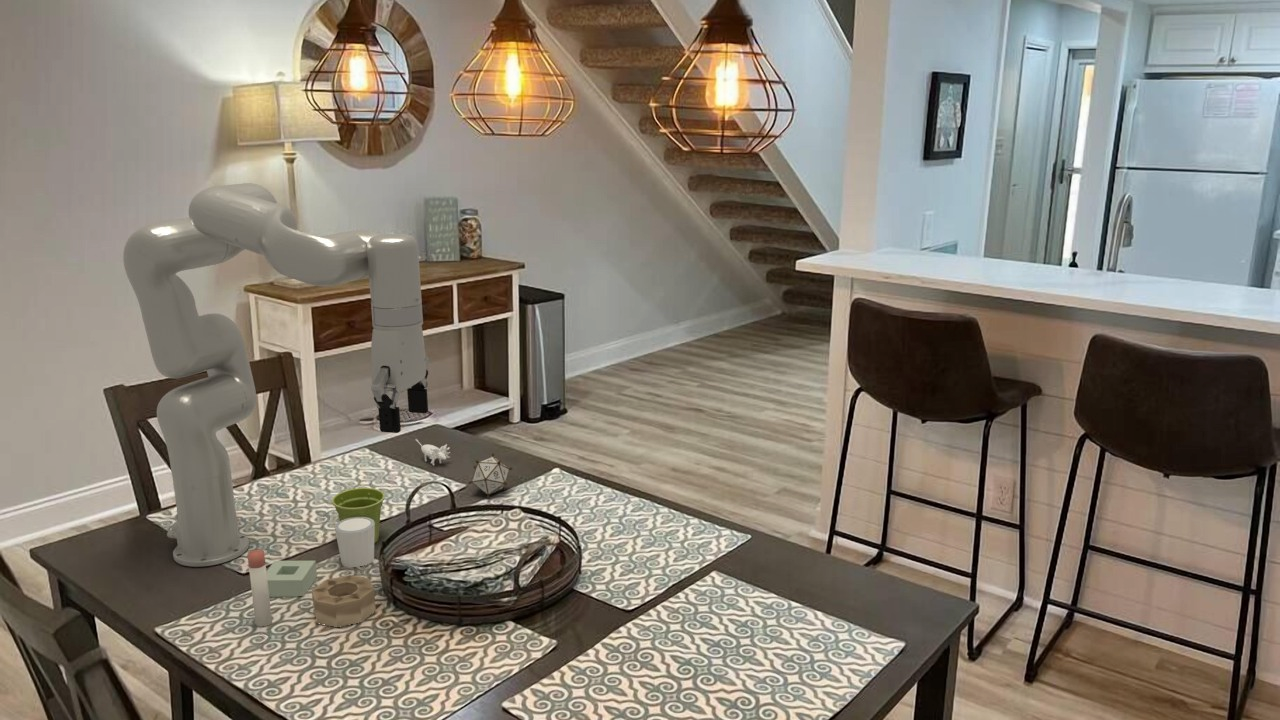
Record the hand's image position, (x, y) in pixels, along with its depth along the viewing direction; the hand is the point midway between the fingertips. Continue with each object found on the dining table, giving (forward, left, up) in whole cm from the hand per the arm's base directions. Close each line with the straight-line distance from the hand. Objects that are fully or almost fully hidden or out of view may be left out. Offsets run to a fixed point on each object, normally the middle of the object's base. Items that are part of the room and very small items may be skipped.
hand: (405, 421), depth 152 cm
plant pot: (-21, +14, -30) cm, 39 cm away
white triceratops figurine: (-31, +54, -30) cm, 69 cm away
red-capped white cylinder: (-18, -16, -30) cm, 38 cm away
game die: (-9, +42, -30) cm, 53 cm away
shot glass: (-17, +7, -30) cm, 35 cm away
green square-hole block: (-22, -5, -30) cm, 37 cm away
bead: (-8, -9, -30) cm, 32 cm away
